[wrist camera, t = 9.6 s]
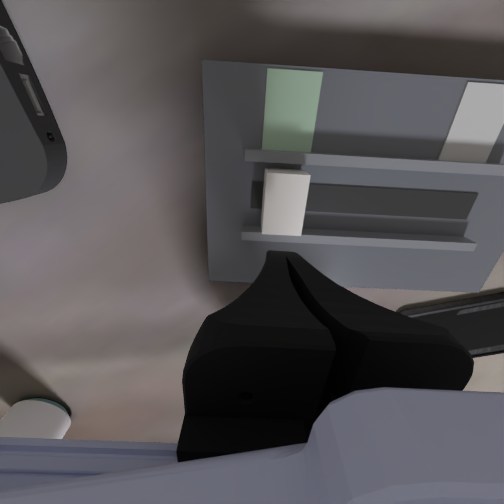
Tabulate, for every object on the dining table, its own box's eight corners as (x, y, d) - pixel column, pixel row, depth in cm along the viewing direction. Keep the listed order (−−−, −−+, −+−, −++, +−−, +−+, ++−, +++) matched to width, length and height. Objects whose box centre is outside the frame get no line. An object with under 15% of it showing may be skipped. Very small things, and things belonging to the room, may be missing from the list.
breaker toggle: (295, 224, 16) (301, 235, 15) (260, 222, 16) (262, 234, 15) (303, 169, 15) (310, 175, 13) (264, 167, 15) (266, 172, 13)
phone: (544, 346, 25) (395, 370, 27) (533, 338, 26) (390, 361, 28) (570, 285, 22) (397, 317, 23) (556, 278, 23) (391, 309, 24)
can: (10, 390, 29) (-130, 542, 18) (71, 398, 30) (-30, 548, 19) (22, 423, 32) (-92, 568, 22) (77, 429, 33) (-7, 573, 22)
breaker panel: (455, 276, 22) (492, 302, 19) (213, 265, 21) (206, 289, 18) (550, 93, 16) (630, 83, 12) (209, 70, 15) (197, 52, 12)
